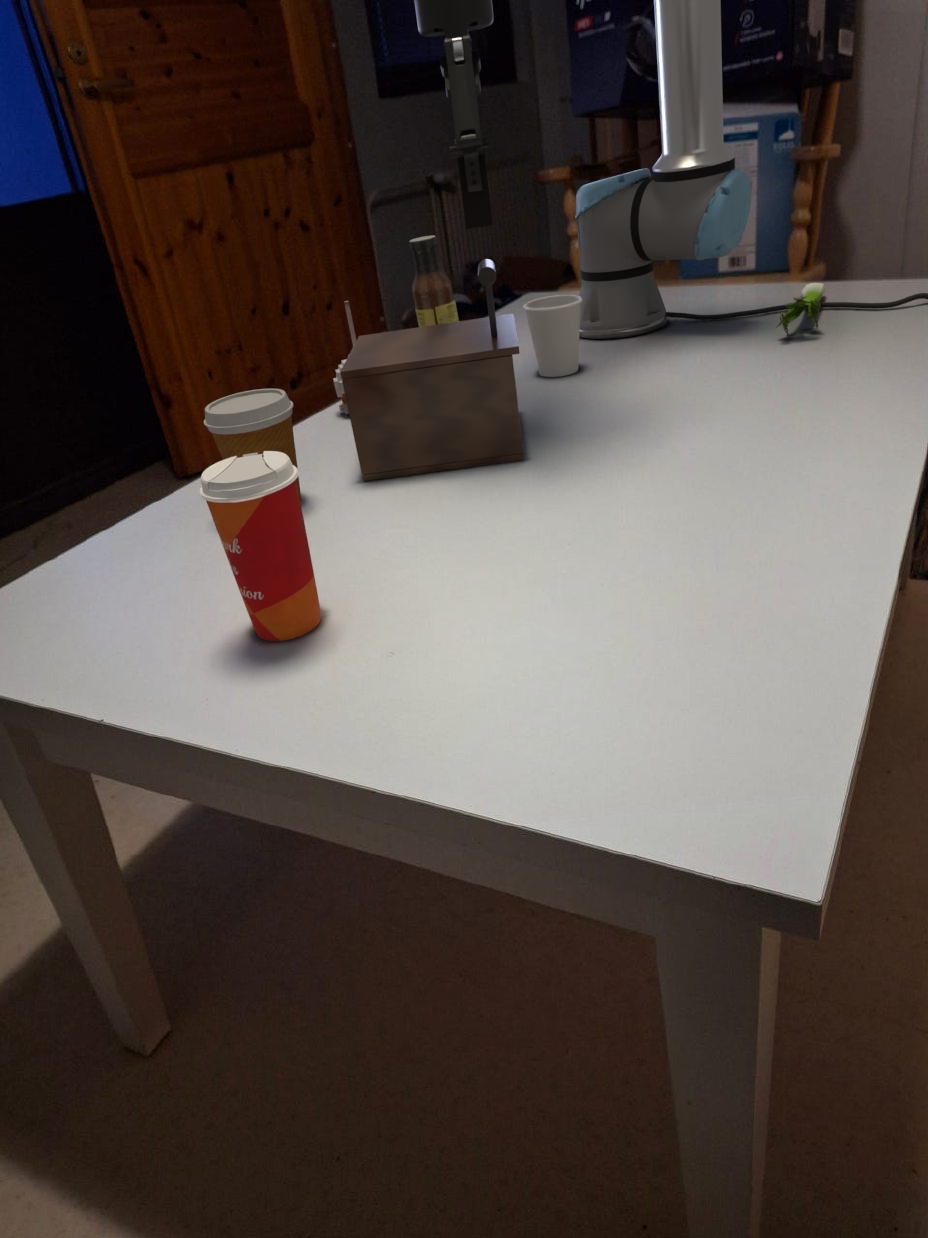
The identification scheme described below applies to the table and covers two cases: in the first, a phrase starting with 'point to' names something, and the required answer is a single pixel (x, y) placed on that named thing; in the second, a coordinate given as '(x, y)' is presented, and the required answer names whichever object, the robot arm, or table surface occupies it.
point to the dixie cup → (555, 333)
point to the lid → (437, 340)
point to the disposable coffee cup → (253, 424)
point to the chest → (435, 418)
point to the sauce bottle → (431, 285)
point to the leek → (804, 305)
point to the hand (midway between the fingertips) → (479, 220)
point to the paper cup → (265, 541)
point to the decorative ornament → (338, 379)
